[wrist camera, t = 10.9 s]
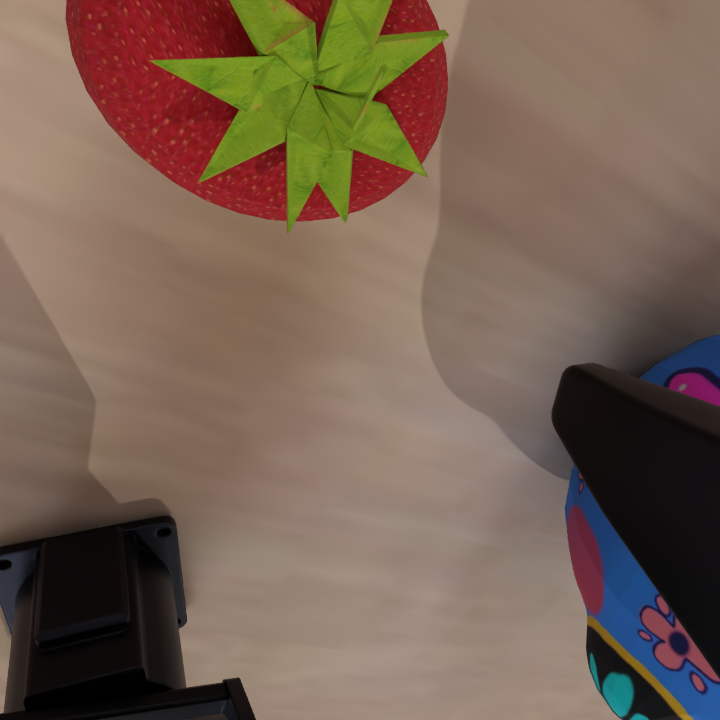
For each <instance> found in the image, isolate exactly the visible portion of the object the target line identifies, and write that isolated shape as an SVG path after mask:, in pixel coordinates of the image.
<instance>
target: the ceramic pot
mask: <svg viewBox="0 0 720 720" xmlns="http://www.w3.org/2000/svg"><path fill="white" fill-rule="evenodd" d="M639 379H642V380H645V381H648V382H651V383H654V384H657V385H660V386H663V387H666V388H669V389H671V390H674V391H677V392H680V393H683V394H686V395H689V396H692V397H695V398H698V399H701V400H703V401H706V402H709V403H712V404H715V405H718V406H720V334H719V335H716V336H712V337H708V338H705V339H701V340H698V341H696V342H694V343H692V344H691V345H689V346H687V347H685V348H684V349H682V350H680V351H678V352H677V353H675V354H673V355H671V356H670V357H668V358H666V359H664V360H663V361H661V362H659V363H657V364H656V365H654V366H653V367H652V368H651V369H649V370H648V371H647V372H646V373H645V374H643V375H642V376H641V377H640V378H639ZM565 514H566V525H567V534H568V543H569V549H570V555H571V561H572V566H573V570H574V574H575V578H576V581H577V584H578V587H579V589H580V592H581V595H582V598H583V601H584V604H585V607H586V610H587V641H586V651H587V658H588V664H589V669H590V673H591V675H592V678H593V680H594V683H595V685H596V687H597V690H598V691H599V693H600V694H601V696H602V697H603V698H604V700H605V701H606V703H607V704H608V706H609V707H610V709H611V710H612V711H613V712H614V713H615V714H616V715H617V716H618V717H619V718H620V719H621V720H720V680H719V678H718V677H717V675H716V674H715V672H714V671H713V670H712V668H711V667H710V665H709V664H708V662H707V661H706V660H705V658H704V657H703V655H702V654H701V652H700V651H699V650H698V648H697V647H696V645H695V644H694V643H693V641H692V640H691V638H690V637H689V635H688V634H687V633H686V631H685V630H684V628H683V627H682V625H681V624H680V623H679V621H678V620H677V618H676V617H675V615H674V614H673V613H672V611H671V610H670V608H669V607H668V605H667V604H666V603H665V601H664V600H663V598H662V597H661V596H660V594H659V593H658V591H657V590H656V588H655V587H654V586H653V584H652V583H651V581H650V580H649V578H648V577H647V576H646V574H645V573H644V571H643V570H642V568H641V567H640V566H639V564H638V563H637V561H636V560H635V559H634V557H633V556H632V554H631V553H630V551H629V550H628V549H627V547H626V546H625V544H624V543H623V541H622V540H621V539H620V537H619V536H618V534H617V533H616V531H615V530H614V529H613V527H612V526H611V524H610V523H609V521H608V520H607V518H606V517H605V515H604V514H603V512H602V511H601V509H600V507H599V506H598V504H597V502H596V501H595V499H594V497H593V496H592V494H591V492H590V490H589V489H588V487H587V485H586V483H585V482H584V480H583V478H582V476H581V475H580V473H579V471H578V469H577V467H576V466H575V465H574V467H573V469H572V473H571V478H570V484H569V489H568V494H567V500H566V506H565Z"/></svg>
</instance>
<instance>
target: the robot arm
mask: <svg viewBox="0 0 720 720" xmlns="http://www.w3.org/2000/svg"><path fill="white" fill-rule="evenodd" d="M551 417H552V423H553V426H554V428H555V430H556V432H557V434H558V436H559V437H560V439H561V441H562V443H563V445H564V446H565V448H566V450H567V452H568V453H569V455H570V457H571V459H572V460H573V462H574V464H575V466H576V467H577V469H578V471H579V473H580V475H581V476H582V478H583V480H584V482H585V483H586V485H587V487H588V489H589V490H590V492H591V494H592V496H593V497H594V499H595V501H596V502H597V504H598V506H599V507H600V509H601V511H602V512H603V514H604V515H605V517H606V518H607V520H608V521H609V523H610V524H611V526H612V527H613V529H614V530H615V531H616V533H617V534H618V536H619V537H620V539H621V540H622V541H623V543H624V544H625V546H626V547H627V549H628V550H629V551H630V553H631V554H632V556H633V557H634V559H635V560H636V561H637V563H638V564H639V566H640V567H641V568H642V570H643V571H644V573H645V574H646V576H647V577H648V578H649V580H650V581H651V583H652V584H653V586H654V587H655V588H656V590H657V591H658V593H659V594H660V596H661V597H662V598H663V600H664V601H665V603H666V604H667V605H668V607H669V608H670V610H671V611H672V613H673V614H674V615H675V617H676V618H677V620H678V621H679V623H680V624H681V625H682V627H683V628H684V630H685V631H686V633H687V634H688V635H689V637H690V638H691V640H692V641H693V643H694V644H695V645H696V647H697V648H698V650H699V651H700V652H701V654H702V655H703V657H704V658H705V660H706V661H707V662H708V664H709V665H710V667H711V668H712V670H713V671H714V672H715V674H716V675H717V677H718V678H719V680H720V406H718V405H715V404H712V403H709V402H706V401H703V400H701V399H698V398H695V397H692V396H689V395H686V394H683V393H680V392H677V391H674V390H671V389H669V388H666V387H663V386H660V385H657V384H654V383H651V382H648V381H645V380H642V379H639V378H637V377H634V376H631V375H628V374H625V373H622V372H619V371H616V370H613V369H610V368H607V367H604V366H602V365H599V364H595V363H585V364H579V365H572V366H569V367H568V368H566V369H565V371H564V372H563V374H562V376H561V380H560V383H559V387H558V390H557V394H556V397H555V401H554V405H553V408H552V416H551ZM161 528H166V529H164V530H159V529H161ZM0 560H8V561H0V604H1V607H2V610H3V612H4V615H5V618H6V621H7V624H8V626H9V629H10V632H11V635H12V641H11V650H10V660H9V669H8V678H7V687H6V696H5V705H4V713H2V714H0V720H256V719H255V716H254V713H253V711H252V708H251V706H250V703H249V701H248V698H247V696H246V693H245V690H244V688H243V685H242V683H241V680H240V678H232V679H225V680H223V682H222V683H216V684H209V685H202V686H195V687H188V688H186V681H185V673H184V666H183V658H182V651H181V643H180V635H179V628H181V627H183V626H184V625H185V624H186V622H187V615H186V606H185V597H184V589H183V580H182V571H181V562H180V554H179V545H178V536H177V528H176V522H175V520H174V519H173V518H172V517H170V516H159V517H153V518H148V519H143V520H138V521H133V522H128V523H122V524H117V525H112V526H107V527H102V528H96V529H91V530H86V531H81V532H76V533H71V534H65V535H60V536H55V537H50V538H45V539H39V540H34V541H29V542H24V543H19V544H14V545H8V546H3V547H0Z"/></svg>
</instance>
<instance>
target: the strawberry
mask: <svg viewBox="0 0 720 720" xmlns="http://www.w3.org/2000/svg"><path fill="white" fill-rule="evenodd" d="M66 23H67V29H68V34H69V40H70V45H71V51H72V56H73V59H74V61H75V63H76V66H77V68H78V71H79V73H80V75H81V78H82V80H83V83H84V85H85V88H86V90H87V92H88V94H89V95H90V97H91V98H92V100H93V101H94V103H95V104H96V106H97V107H98V109H99V110H100V112H101V114H102V115H103V117H104V118H105V120H106V121H107V123H108V124H109V125H110V126H111V127H112V128H113V129H114V131H115V132H116V133H117V134H118V135H119V136H120V137H121V138H122V139H123V140H124V141H125V142H126V143H127V144H128V146H129V147H130V148H131V149H132V150H133V151H134V152H135V153H137V154H138V155H139V156H140V157H142V158H143V159H144V160H146V161H147V162H148V163H149V164H151V165H152V166H153V167H154V168H156V169H157V170H158V171H160V172H161V173H162V174H163V175H165V176H166V177H168V178H169V179H170V180H172V181H173V182H174V183H176V184H178V185H179V186H181V187H183V188H185V189H187V190H188V191H190V192H192V193H194V194H195V195H197V196H199V197H201V198H203V199H204V200H206V201H208V202H211V203H214V204H216V205H219V206H222V207H224V208H227V209H230V210H232V211H235V212H238V213H241V214H246V215H251V216H256V217H260V218H265V219H270V220H283V221H287V233H288V234H289V232H290V230H291V228H292V226H293V224H294V223H295V221H302V222H303V221H312V220H321V219H330V218H335V217H339V216H341V218H342V219H343V221H344V222H345V223H346V221H347V217H348V214H349V213H353V212H356V211H360V210H362V209H364V208H366V207H368V206H370V205H372V204H374V203H376V202H378V201H380V200H382V199H384V198H385V197H387V196H388V195H389V194H391V193H392V192H393V191H395V190H396V189H397V188H399V187H400V186H401V185H402V184H404V183H405V182H406V181H407V180H408V179H409V178H410V177H411V176H412V174H413V173H414V172H415V173H418V174H420V175H423V176H426V177H428V176H427V174H426V172H425V170H424V168H423V167H422V165H421V164H422V163H423V162H424V160H425V158H426V157H427V155H428V153H429V151H430V149H431V148H432V146H433V144H434V142H435V141H436V139H437V136H438V133H439V130H440V127H441V124H442V120H443V117H444V114H445V109H446V100H447V91H448V74H447V63H446V52H445V49H444V45H443V42H442V41H443V40H444V39H446V38H447V37H448V36H449V35H448V33H447V32H446V31H445V30H439V27H438V24H437V21H436V19H435V17H434V14H433V12H432V10H431V8H430V6H429V4H428V2H427V0H67V4H66Z"/></svg>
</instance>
